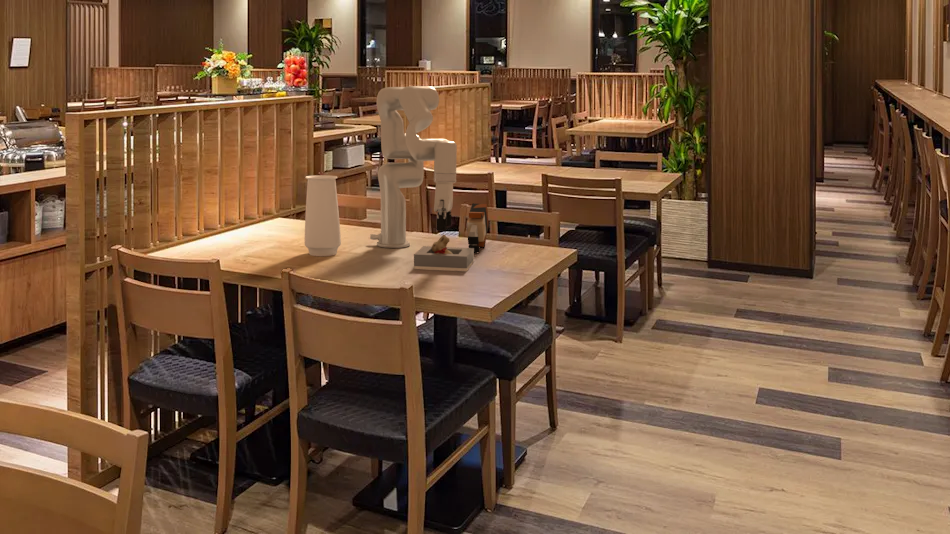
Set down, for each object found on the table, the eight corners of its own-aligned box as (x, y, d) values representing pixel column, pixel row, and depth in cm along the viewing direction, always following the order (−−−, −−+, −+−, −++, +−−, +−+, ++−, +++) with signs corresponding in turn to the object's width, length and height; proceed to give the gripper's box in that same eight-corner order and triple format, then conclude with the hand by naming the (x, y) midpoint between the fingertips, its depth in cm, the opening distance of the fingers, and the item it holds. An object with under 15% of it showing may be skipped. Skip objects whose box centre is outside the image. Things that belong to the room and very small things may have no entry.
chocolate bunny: (440, 259, 311) (440, 231, 309) (458, 262, 307) (458, 234, 305) (430, 262, 307) (430, 233, 305) (447, 265, 302) (448, 236, 300)
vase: (301, 251, 328) (299, 175, 323) (336, 249, 333) (334, 174, 328) (309, 258, 317) (307, 179, 311) (345, 255, 322) (343, 178, 316)
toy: (477, 228, 324) (486, 198, 340) (461, 227, 325) (471, 198, 341) (480, 263, 334) (489, 232, 349) (465, 262, 335) (475, 232, 350)
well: (413, 269, 300) (413, 254, 299) (423, 260, 316) (423, 246, 315) (466, 271, 298) (467, 256, 297) (473, 262, 313) (473, 248, 312)
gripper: (438, 174, 310) (437, 223, 314) (429, 180, 293) (428, 231, 297) (460, 175, 309) (458, 224, 313) (451, 181, 292) (450, 233, 296)
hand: (444, 227), depth 305 cm, fingers open, 9 cm apart
